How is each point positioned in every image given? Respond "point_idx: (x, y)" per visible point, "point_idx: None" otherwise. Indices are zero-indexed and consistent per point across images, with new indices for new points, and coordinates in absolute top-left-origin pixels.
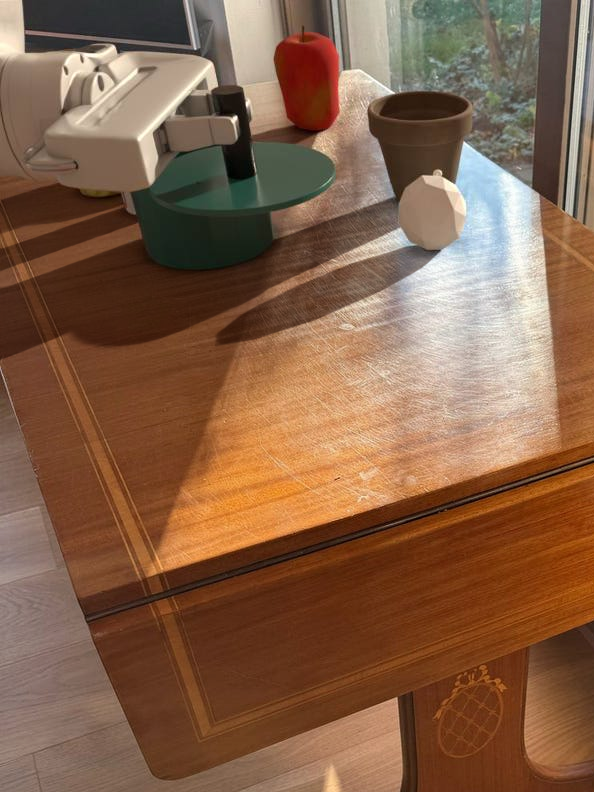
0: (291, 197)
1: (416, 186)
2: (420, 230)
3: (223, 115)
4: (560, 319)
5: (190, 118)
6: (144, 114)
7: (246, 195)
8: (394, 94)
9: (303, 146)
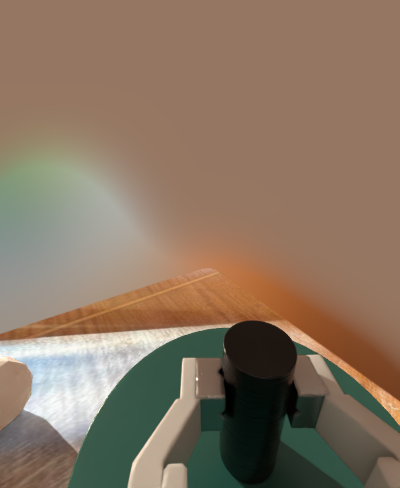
0: (305, 352)
1: None
2: (20, 403)
3: (307, 369)
4: (160, 324)
5: (383, 436)
6: None
7: None
8: None
9: (124, 377)
